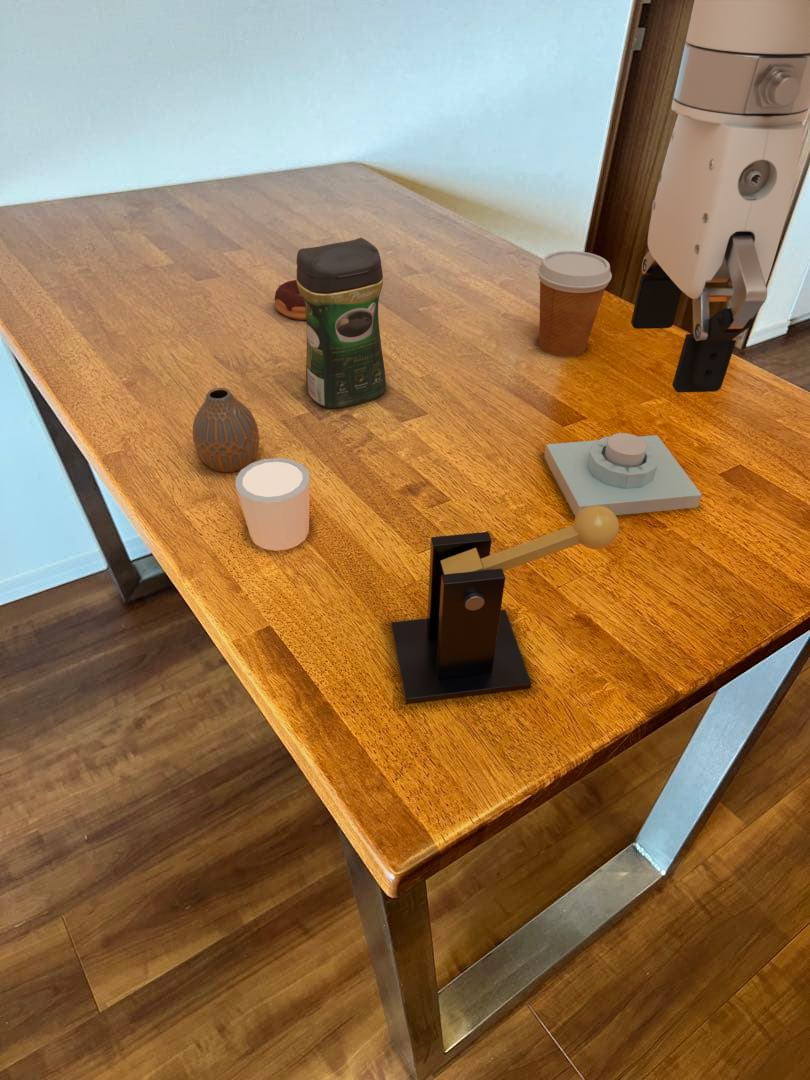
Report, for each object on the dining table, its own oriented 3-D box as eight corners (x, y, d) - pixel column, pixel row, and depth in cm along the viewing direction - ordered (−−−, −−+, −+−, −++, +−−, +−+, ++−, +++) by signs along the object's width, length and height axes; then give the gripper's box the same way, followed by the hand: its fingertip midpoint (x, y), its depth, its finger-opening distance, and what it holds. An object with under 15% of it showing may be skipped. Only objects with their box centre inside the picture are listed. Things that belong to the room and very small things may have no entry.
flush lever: (612, 520, 55) (606, 490, 52) (628, 549, 52) (622, 518, 50) (449, 579, 56) (437, 552, 54) (458, 609, 54) (445, 582, 52)
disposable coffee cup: (575, 329, 106) (590, 246, 98) (609, 359, 100) (628, 272, 92) (516, 338, 104) (526, 253, 96) (546, 369, 97) (560, 281, 89)
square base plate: (652, 451, 83) (661, 421, 81) (696, 511, 75) (707, 480, 73) (543, 460, 82) (548, 430, 79) (575, 523, 74) (582, 492, 71)
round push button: (634, 445, 78) (638, 431, 77) (649, 466, 75) (653, 452, 74) (598, 448, 77) (601, 434, 76) (612, 470, 74) (615, 456, 73)
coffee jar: (366, 371, 96) (362, 226, 84) (394, 399, 91) (394, 249, 79) (298, 388, 93) (283, 240, 81) (323, 418, 88) (312, 264, 75)
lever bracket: (503, 618, 64) (519, 515, 56) (529, 692, 58) (551, 588, 50) (391, 631, 63) (390, 527, 55) (405, 708, 57) (407, 604, 49)
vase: (267, 445, 83) (257, 377, 78) (256, 482, 78) (245, 411, 72) (207, 444, 83) (193, 375, 78) (192, 481, 78) (176, 410, 72)
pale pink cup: (238, 521, 73) (228, 464, 69) (305, 507, 75) (299, 450, 71) (252, 566, 69) (242, 508, 64) (323, 549, 70) (318, 491, 66)
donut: (348, 299, 113) (347, 273, 111) (337, 327, 106) (336, 300, 104) (284, 295, 114) (281, 270, 112) (269, 323, 107) (266, 297, 104)
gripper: (890, 117, 36) (773, 418, 47) (747, 59, 49) (682, 306, 60) (740, 118, 35) (658, 421, 47) (636, 59, 48) (591, 307, 60)
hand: (671, 356), depth 53 cm, fingers open, 9 cm apart
